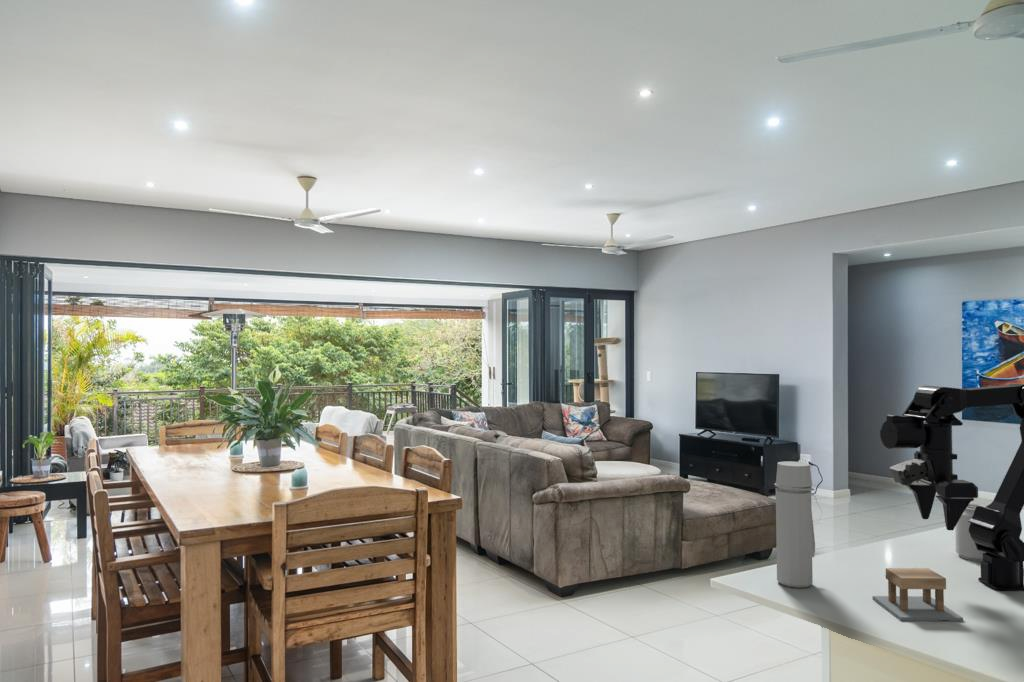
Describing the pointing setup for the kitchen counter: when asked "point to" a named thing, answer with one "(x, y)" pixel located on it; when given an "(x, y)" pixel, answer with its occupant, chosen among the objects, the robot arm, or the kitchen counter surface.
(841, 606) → the kitchen counter surface
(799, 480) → the water bottle
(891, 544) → the kitchen counter surface
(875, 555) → the kitchen counter surface
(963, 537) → the can
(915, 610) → the gray panel
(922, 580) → the stool
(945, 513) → the robot arm
